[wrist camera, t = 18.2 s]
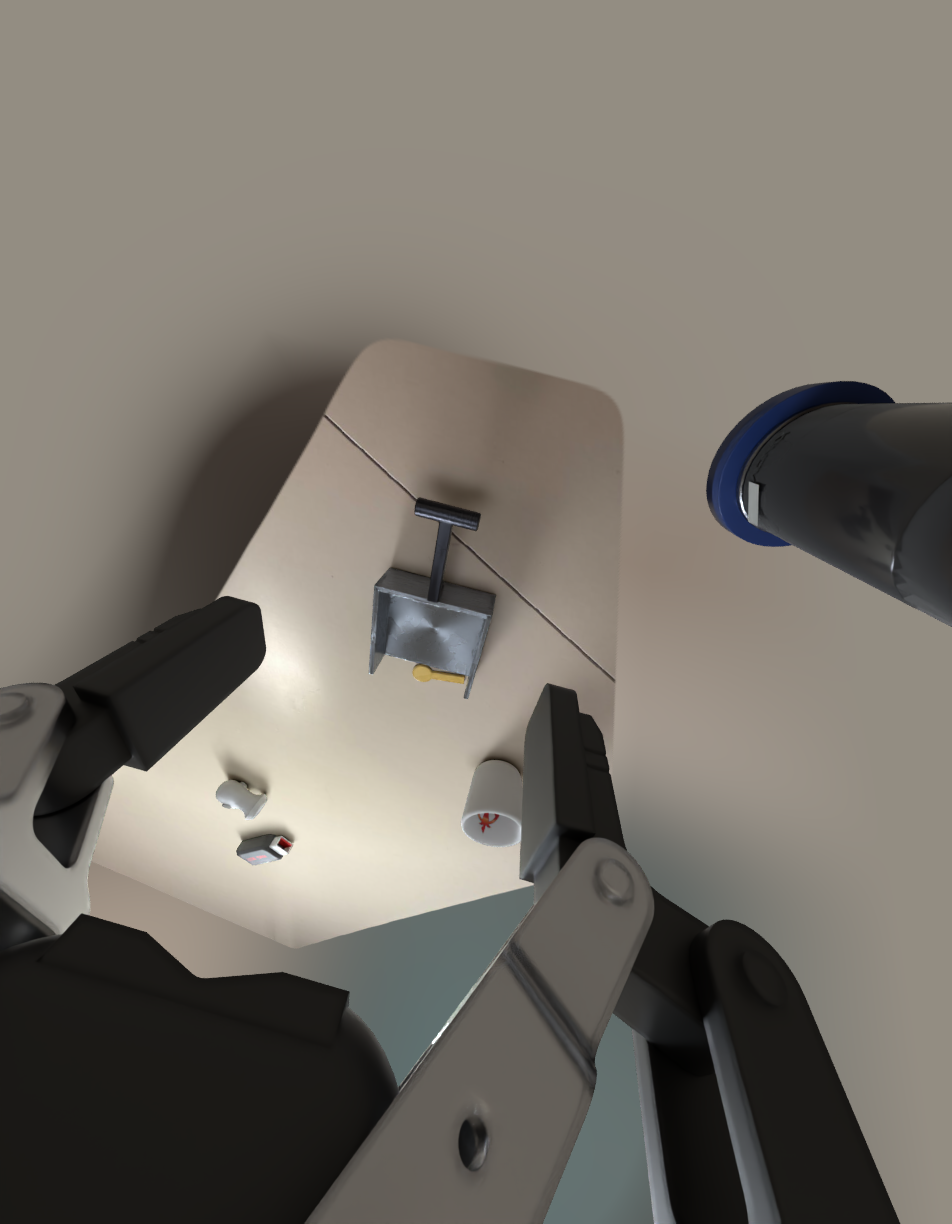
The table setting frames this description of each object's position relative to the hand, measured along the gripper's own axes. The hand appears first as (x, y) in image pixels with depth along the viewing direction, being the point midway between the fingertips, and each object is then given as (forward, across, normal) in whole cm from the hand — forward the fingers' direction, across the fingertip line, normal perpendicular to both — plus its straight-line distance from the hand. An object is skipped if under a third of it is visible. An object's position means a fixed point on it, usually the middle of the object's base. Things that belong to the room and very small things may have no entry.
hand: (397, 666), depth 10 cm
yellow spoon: (+23, +1, +22) cm, 32 cm away
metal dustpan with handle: (+23, +3, +11) cm, 26 cm away
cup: (+24, -11, +37) cm, 45 cm away
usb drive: (+23, +28, +78) cm, 86 cm away
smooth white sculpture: (+23, +30, +59) cm, 70 cm away
